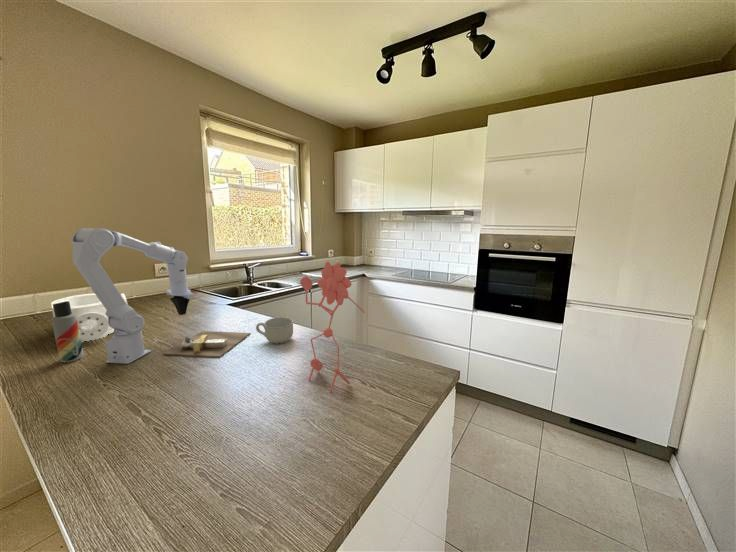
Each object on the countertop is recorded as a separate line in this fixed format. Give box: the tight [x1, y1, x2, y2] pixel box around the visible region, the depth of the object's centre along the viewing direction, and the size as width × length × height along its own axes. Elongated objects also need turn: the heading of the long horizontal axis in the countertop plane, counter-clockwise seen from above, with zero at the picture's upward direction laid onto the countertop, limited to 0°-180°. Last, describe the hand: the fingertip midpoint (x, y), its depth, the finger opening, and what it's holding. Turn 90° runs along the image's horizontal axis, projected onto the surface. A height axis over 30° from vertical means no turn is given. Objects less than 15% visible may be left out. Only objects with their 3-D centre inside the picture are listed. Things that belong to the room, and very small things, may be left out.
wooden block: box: [181, 336, 227, 349], centre depth 106 cm, size 15×4×3 cm, turn 94°
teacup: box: [255, 316, 294, 345], centre depth 113 cm, size 14×11×8 cm
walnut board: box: [162, 330, 251, 358], centre depth 111 cm, size 21×21×1 cm
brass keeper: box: [193, 335, 208, 353], centre depth 105 cm, size 2×8×4 cm, turn 7°
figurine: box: [299, 261, 366, 401], centre depth 85 cm, size 15×26×35 cm, turn 51°
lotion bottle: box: [51, 301, 84, 364], centre depth 97 cm, size 6×6×20 cm
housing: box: [50, 292, 129, 343], centre depth 123 cm, size 35×22×14 cm, turn 47°
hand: (182, 314), depth 116 cm, fingers closed
